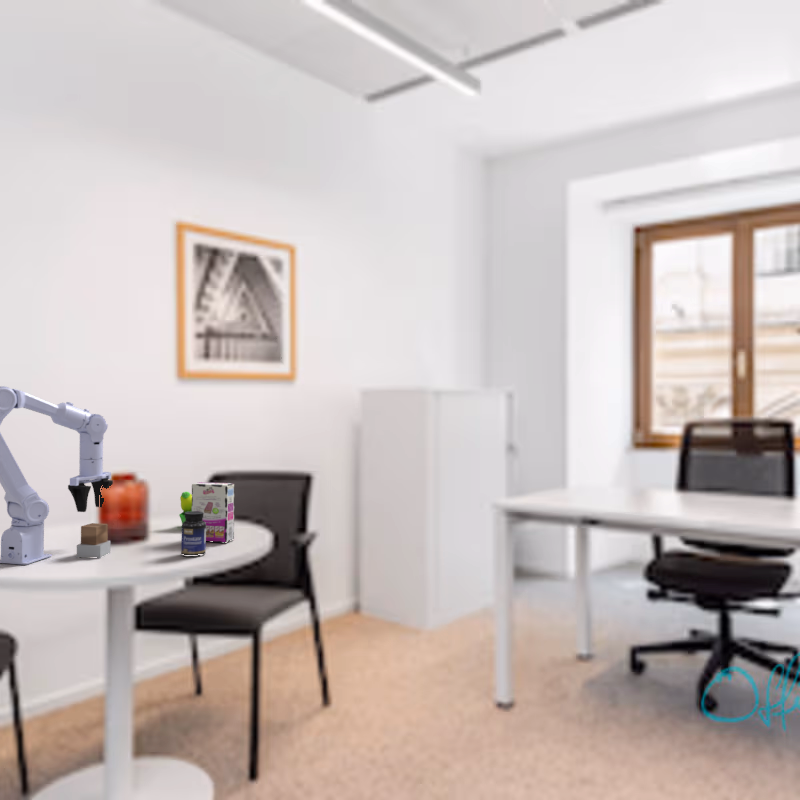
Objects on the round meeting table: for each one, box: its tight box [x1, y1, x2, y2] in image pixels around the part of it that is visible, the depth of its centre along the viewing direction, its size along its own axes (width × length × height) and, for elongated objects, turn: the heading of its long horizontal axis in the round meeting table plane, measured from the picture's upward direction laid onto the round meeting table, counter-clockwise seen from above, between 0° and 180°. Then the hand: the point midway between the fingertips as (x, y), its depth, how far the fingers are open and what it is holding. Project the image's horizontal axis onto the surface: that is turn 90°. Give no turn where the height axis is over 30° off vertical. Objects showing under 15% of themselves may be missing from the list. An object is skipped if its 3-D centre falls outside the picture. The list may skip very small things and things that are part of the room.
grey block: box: [76, 540, 111, 559], centre depth 181 cm, size 6×6×4 cm
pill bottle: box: [180, 511, 207, 555], centre depth 183 cm, size 6×6×11 cm
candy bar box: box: [191, 481, 235, 543], centre depth 200 cm, size 11×5×16 cm, turn 76°
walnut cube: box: [80, 522, 109, 545], centre depth 181 cm, size 4×4×4 cm
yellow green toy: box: [178, 491, 192, 524], centre depth 219 cm, size 11×9×11 cm
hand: (90, 509), depth 189 cm, fingers open, 7 cm apart
